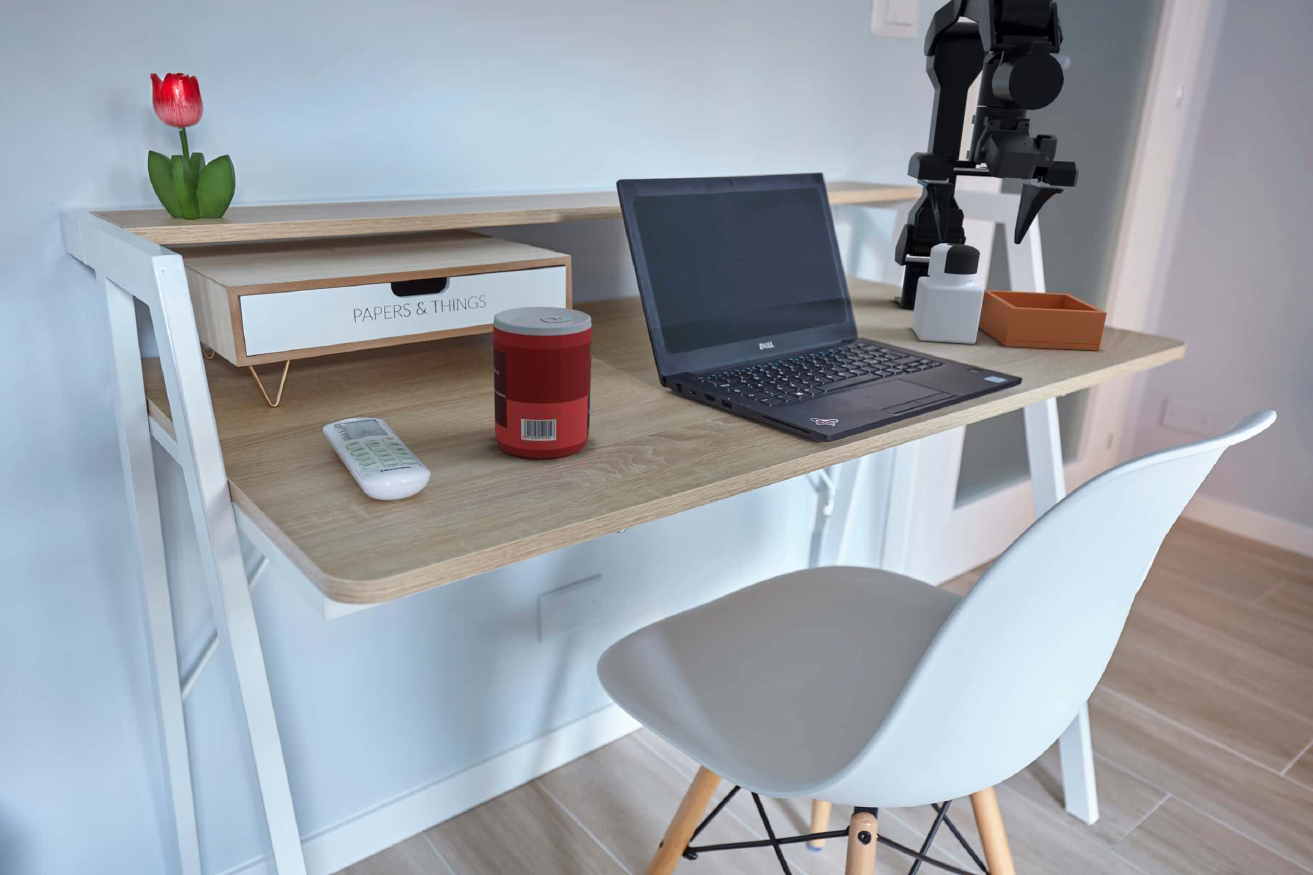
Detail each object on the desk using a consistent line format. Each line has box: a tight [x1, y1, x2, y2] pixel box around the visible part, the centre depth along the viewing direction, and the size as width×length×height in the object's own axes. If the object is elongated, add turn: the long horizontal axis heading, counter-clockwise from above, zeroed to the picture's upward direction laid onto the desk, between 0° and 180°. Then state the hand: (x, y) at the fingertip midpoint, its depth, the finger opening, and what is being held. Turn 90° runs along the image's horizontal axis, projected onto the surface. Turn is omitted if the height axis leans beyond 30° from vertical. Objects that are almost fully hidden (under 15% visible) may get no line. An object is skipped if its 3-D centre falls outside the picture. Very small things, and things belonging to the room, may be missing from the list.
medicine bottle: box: [911, 243, 985, 345], centre depth 121 cm, size 7×7×12 cm
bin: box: [978, 289, 1108, 352], centre depth 124 cm, size 12×12×5 cm
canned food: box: [492, 306, 593, 460], centre depth 77 cm, size 8×8×11 cm
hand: (979, 242), depth 114 cm, fingers open, 9 cm apart
